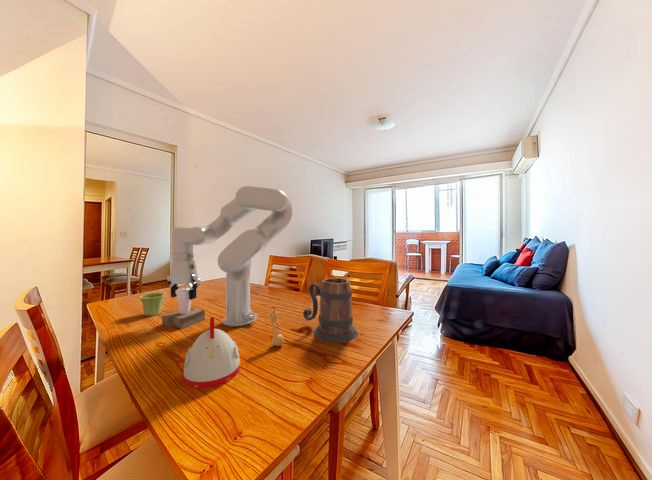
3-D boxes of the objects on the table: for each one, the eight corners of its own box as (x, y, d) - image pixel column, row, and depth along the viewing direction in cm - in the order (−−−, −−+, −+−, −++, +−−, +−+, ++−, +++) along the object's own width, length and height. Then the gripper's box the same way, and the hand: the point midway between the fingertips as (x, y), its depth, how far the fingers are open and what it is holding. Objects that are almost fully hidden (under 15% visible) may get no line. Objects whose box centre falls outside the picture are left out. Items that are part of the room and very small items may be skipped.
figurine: (270, 352, 80) (270, 314, 79) (260, 346, 84) (260, 310, 84) (291, 343, 86) (291, 308, 85) (280, 338, 90) (280, 305, 90)
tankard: (365, 330, 97) (366, 279, 96) (343, 347, 83) (343, 287, 83) (317, 318, 111) (317, 273, 110) (290, 331, 97) (290, 279, 96)
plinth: (204, 319, 109) (204, 310, 109) (183, 328, 99) (182, 318, 98) (185, 316, 113) (185, 307, 112) (162, 325, 102) (162, 315, 102)
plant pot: (169, 313, 117) (168, 294, 117) (145, 319, 109) (145, 299, 109) (159, 309, 122) (158, 291, 122) (136, 315, 114) (135, 296, 114)
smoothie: (185, 315, 102) (185, 281, 101) (172, 314, 103) (171, 280, 102) (196, 310, 108) (196, 278, 107) (183, 309, 109) (183, 277, 109)
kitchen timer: (180, 394, 60) (179, 331, 59) (186, 365, 72) (185, 313, 72) (242, 380, 65) (241, 323, 64) (237, 355, 78) (237, 307, 77)
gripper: (206, 256, 105) (207, 297, 106) (175, 255, 111) (175, 293, 112) (191, 258, 98) (192, 302, 99) (159, 257, 104) (159, 298, 104)
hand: (183, 297), depth 105 cm, fingers open, 9 cm apart
